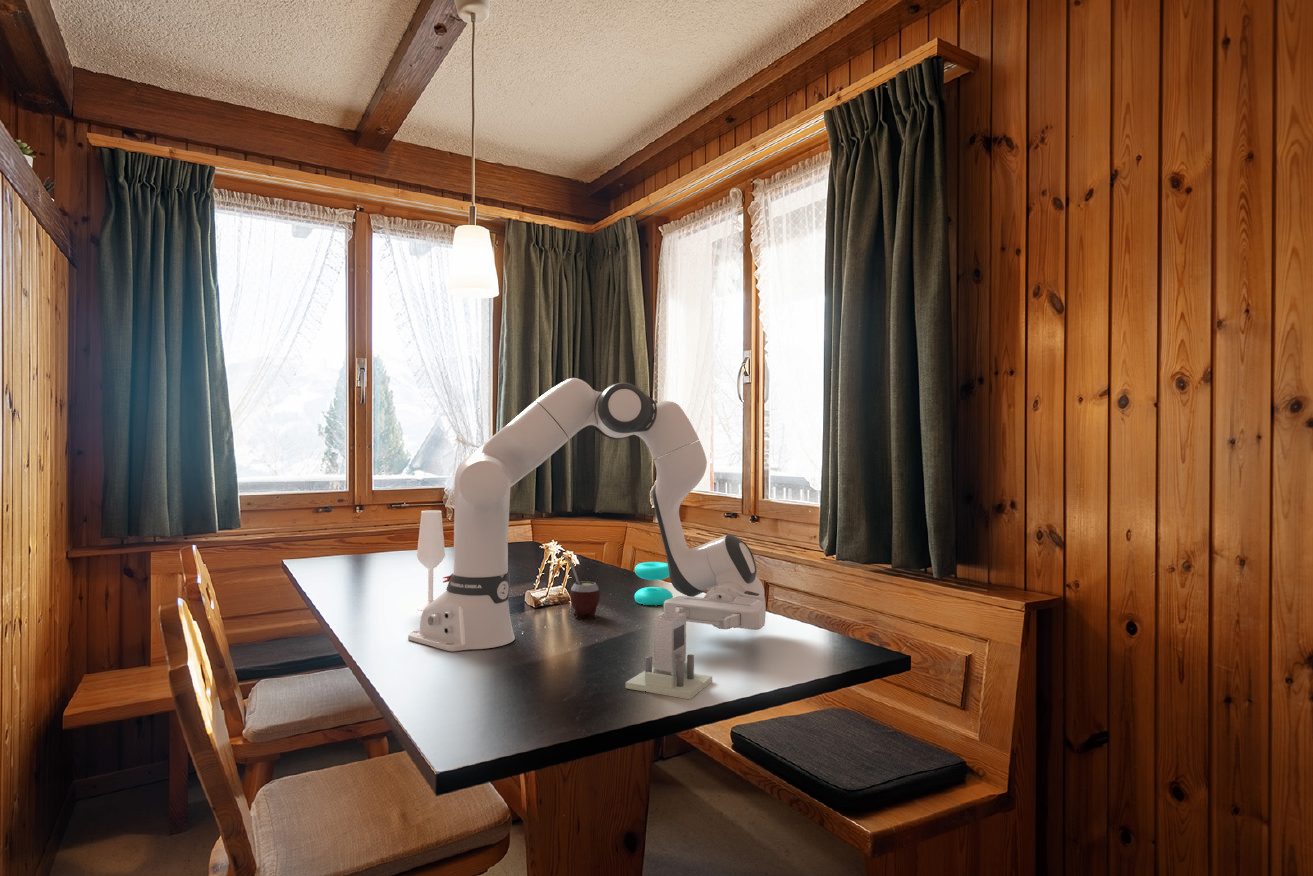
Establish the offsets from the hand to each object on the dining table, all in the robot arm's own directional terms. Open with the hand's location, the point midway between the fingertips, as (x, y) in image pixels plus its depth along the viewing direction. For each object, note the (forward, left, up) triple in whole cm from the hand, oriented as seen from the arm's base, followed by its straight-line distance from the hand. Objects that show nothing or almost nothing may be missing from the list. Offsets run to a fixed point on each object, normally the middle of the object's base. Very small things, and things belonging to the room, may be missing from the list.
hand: (699, 620), depth 143 cm
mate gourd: (-39, +22, -9) cm, 46 cm away
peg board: (0, -13, -8) cm, 15 cm away
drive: (0, -13, -7) cm, 15 cm away
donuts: (-31, +44, -9) cm, 55 cm away
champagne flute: (-77, +12, -9) cm, 78 cm away
